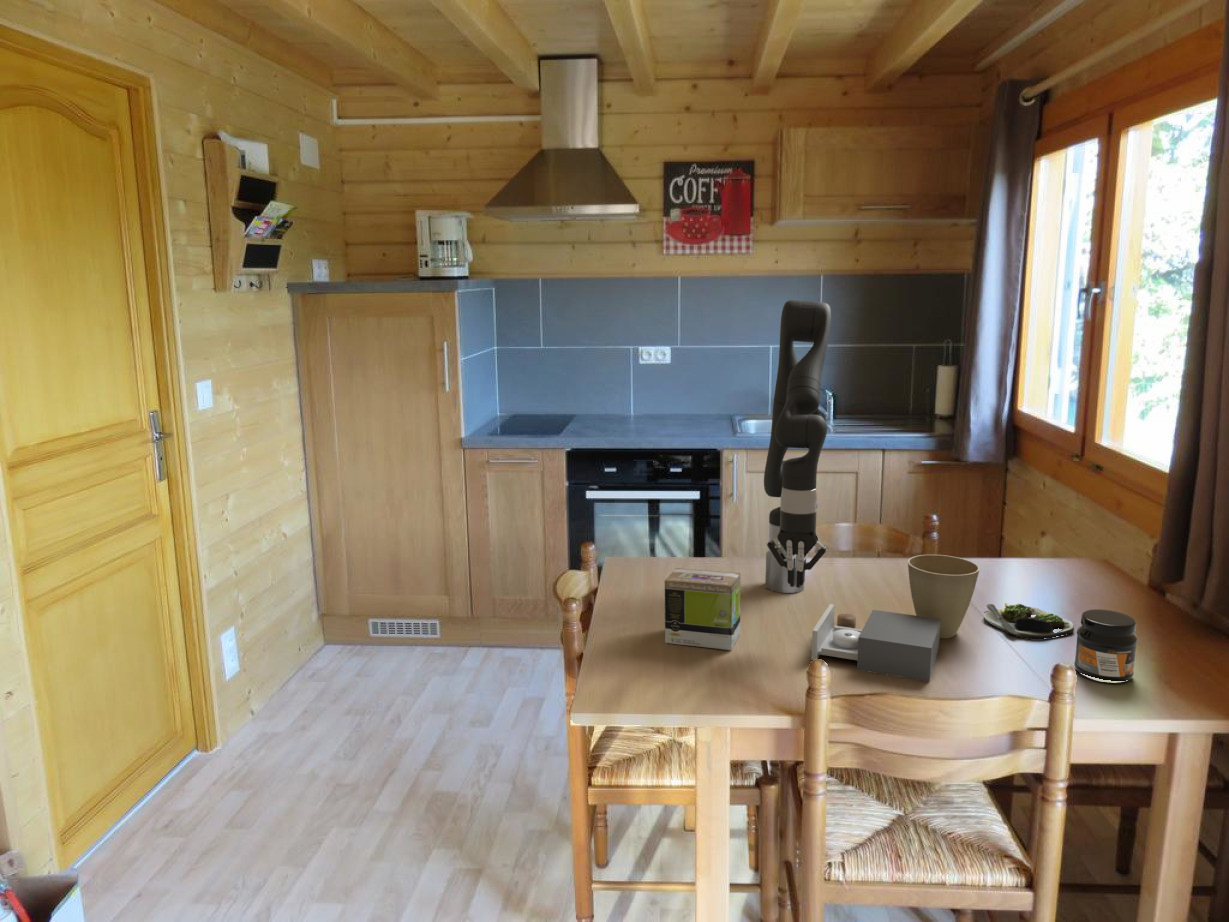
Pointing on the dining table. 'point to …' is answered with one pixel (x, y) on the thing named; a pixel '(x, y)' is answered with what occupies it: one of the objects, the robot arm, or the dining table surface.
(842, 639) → the disc
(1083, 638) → the supplement container
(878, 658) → the block
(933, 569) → the plant pot
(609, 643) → the dining table surface
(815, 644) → the tray
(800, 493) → the robot arm
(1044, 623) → the salad plate
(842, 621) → the pedestal
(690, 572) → the tea box
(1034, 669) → the dining table surface
